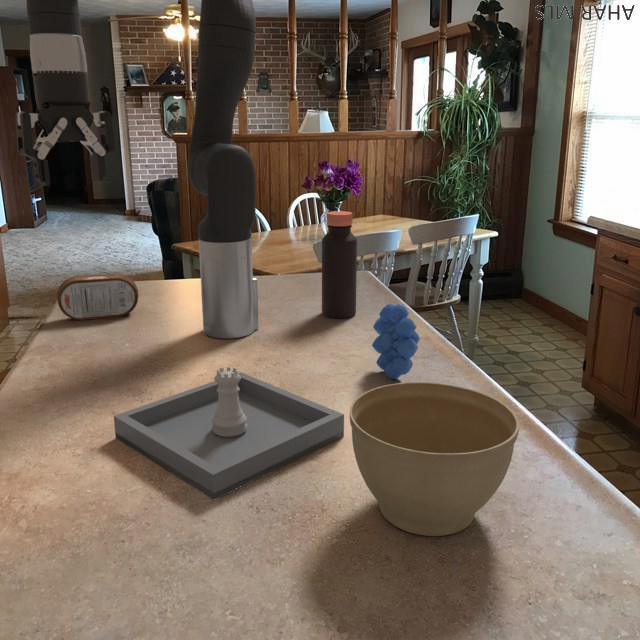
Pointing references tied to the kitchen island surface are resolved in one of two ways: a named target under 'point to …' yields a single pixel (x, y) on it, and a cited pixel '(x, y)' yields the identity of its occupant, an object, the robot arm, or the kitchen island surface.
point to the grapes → (395, 340)
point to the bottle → (339, 266)
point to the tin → (97, 296)
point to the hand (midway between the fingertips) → (72, 183)
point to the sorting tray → (228, 453)
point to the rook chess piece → (228, 405)
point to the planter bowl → (431, 452)
